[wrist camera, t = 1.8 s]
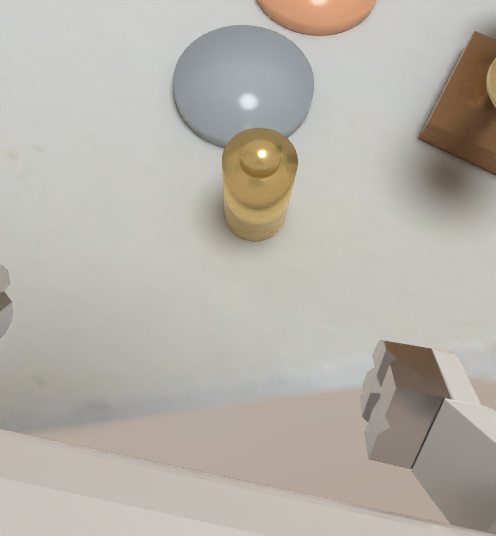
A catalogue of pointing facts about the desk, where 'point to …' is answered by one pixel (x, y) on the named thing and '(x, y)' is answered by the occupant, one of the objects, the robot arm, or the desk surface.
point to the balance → (468, 107)
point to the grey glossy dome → (242, 83)
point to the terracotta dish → (317, 14)
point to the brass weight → (257, 182)
